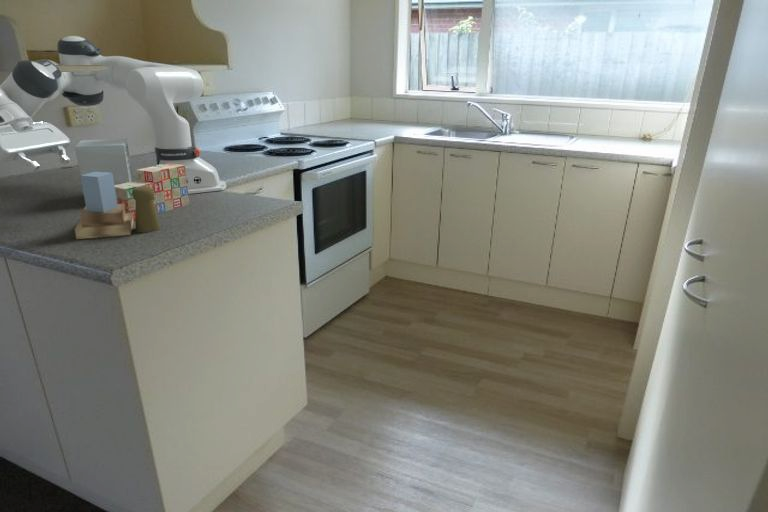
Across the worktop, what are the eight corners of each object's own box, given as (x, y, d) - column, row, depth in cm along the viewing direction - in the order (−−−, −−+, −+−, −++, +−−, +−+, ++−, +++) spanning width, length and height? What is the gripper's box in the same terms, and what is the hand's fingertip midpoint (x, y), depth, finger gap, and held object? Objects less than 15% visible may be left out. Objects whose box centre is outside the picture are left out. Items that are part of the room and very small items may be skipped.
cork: (132, 228, 136) (125, 186, 132) (155, 223, 140) (149, 183, 136) (141, 233, 132) (134, 191, 128) (164, 229, 136) (159, 187, 132)
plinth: (133, 221, 142) (130, 201, 140) (130, 234, 131) (127, 213, 129) (83, 225, 138) (79, 205, 136) (76, 239, 127) (72, 217, 125)
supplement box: (135, 192, 172) (127, 138, 166) (133, 201, 161) (124, 144, 155) (90, 194, 168) (80, 139, 162) (85, 205, 156) (73, 146, 150)
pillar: (101, 206, 135) (95, 171, 132) (118, 207, 134) (112, 172, 131) (86, 211, 131) (80, 175, 128) (103, 212, 130) (97, 176, 126)
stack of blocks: (130, 222, 141) (123, 177, 137) (114, 219, 144) (107, 175, 139) (189, 204, 159) (185, 164, 155) (174, 202, 162) (169, 162, 158)
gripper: (41, 128, 142) (78, 166, 143) (-32, 138, 123) (11, 182, 124) (51, 112, 139) (89, 151, 140) (-22, 119, 121) (22, 164, 122)
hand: (52, 165), depth 132 cm, fingers open, 8 cm apart
